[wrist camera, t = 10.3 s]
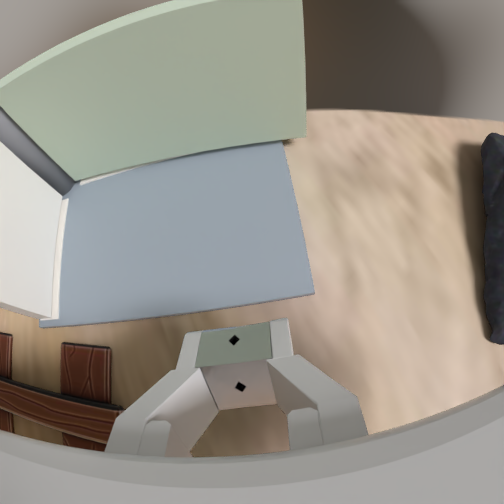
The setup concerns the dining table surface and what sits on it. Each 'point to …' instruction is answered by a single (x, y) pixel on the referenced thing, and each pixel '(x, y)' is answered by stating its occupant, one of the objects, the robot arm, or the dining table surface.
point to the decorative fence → (64, 396)
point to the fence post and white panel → (28, 220)
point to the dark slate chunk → (494, 232)
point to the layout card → (179, 238)
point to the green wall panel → (165, 85)
